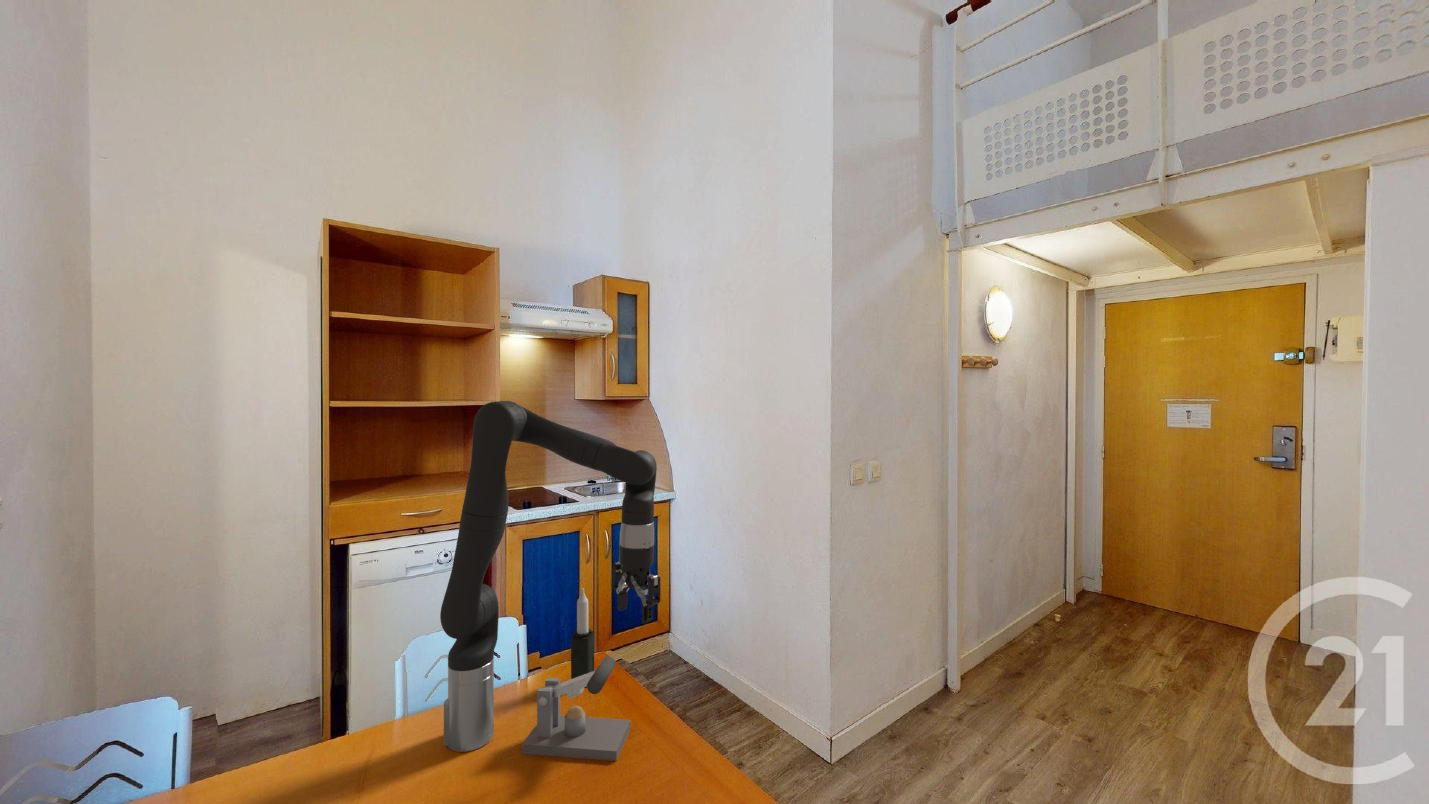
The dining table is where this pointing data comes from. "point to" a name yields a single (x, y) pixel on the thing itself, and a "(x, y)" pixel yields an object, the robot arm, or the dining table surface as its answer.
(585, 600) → the black and grey rod
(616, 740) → the base
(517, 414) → the robot arm
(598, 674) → the lever
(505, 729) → the dining table surface
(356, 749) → the dining table surface
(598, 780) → the dining table surface
